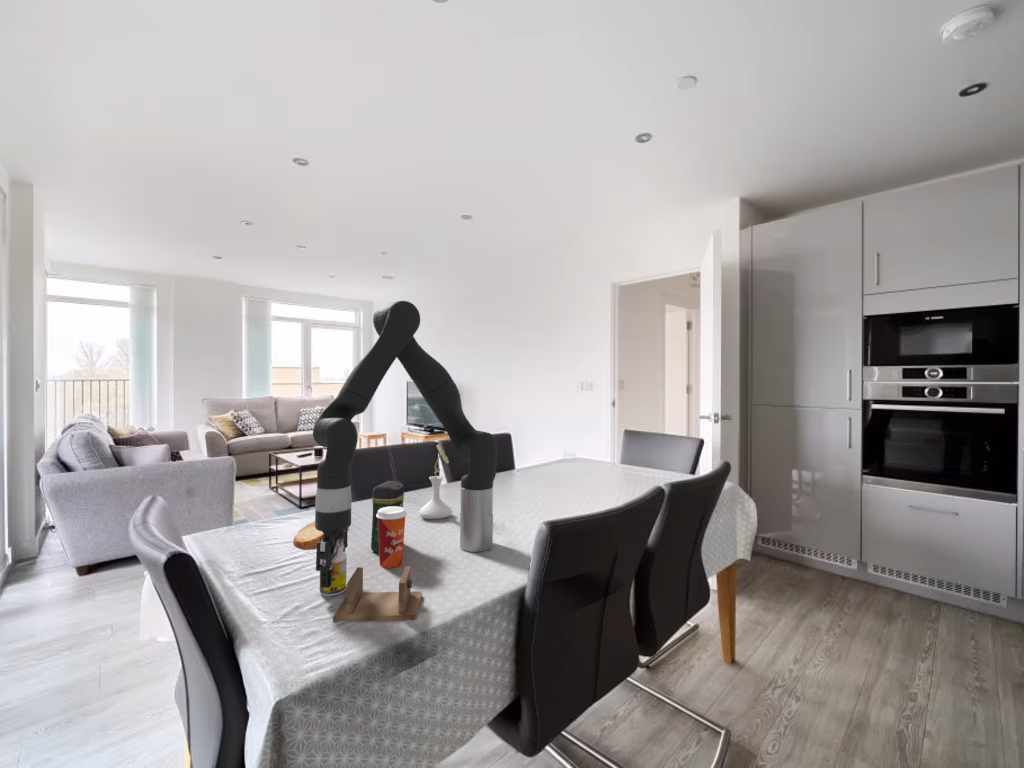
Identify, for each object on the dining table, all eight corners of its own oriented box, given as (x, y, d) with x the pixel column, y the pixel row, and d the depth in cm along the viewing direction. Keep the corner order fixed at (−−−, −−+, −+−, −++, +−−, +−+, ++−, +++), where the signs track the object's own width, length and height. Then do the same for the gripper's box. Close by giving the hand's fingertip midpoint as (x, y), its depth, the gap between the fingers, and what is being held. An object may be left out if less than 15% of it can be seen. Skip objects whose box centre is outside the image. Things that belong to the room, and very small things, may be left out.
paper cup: (390, 572, 111) (390, 515, 111) (369, 565, 115) (369, 510, 115) (412, 561, 118) (413, 508, 118) (392, 555, 122) (392, 503, 122)
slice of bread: (300, 552, 124) (300, 539, 124) (281, 535, 137) (281, 523, 137) (362, 538, 136) (363, 525, 136) (340, 523, 149) (340, 512, 149)
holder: (421, 595, 99) (421, 564, 99) (415, 619, 89) (415, 584, 89) (347, 597, 98) (347, 565, 98) (332, 622, 88) (333, 586, 88)
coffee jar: (394, 555, 122) (395, 487, 122) (367, 553, 123) (367, 485, 123) (407, 542, 132) (407, 479, 131) (381, 540, 132) (381, 478, 132)
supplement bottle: (313, 595, 99) (314, 549, 99) (331, 584, 104) (331, 540, 104) (335, 599, 97) (335, 552, 97) (351, 588, 102) (352, 543, 102)
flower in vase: (449, 522, 150) (450, 448, 150) (415, 521, 150) (416, 447, 150) (455, 511, 163) (456, 442, 163) (423, 510, 164) (424, 442, 163)
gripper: (341, 515, 94) (339, 592, 94) (359, 497, 108) (357, 565, 108) (304, 515, 93) (302, 593, 93) (327, 497, 107) (325, 565, 107)
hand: (332, 578), depth 101 cm, fingers open, 8 cm apart
